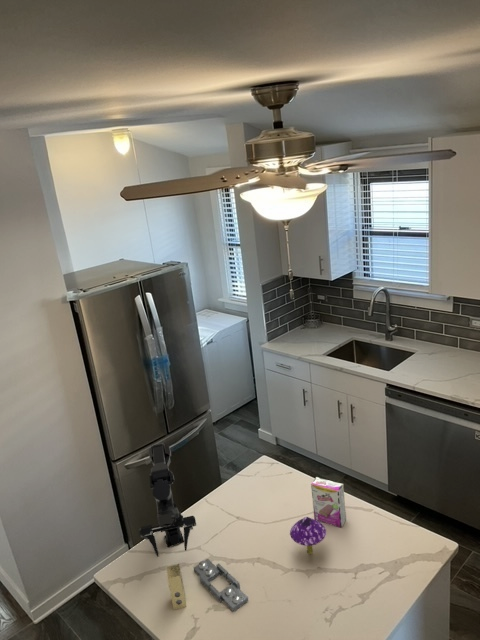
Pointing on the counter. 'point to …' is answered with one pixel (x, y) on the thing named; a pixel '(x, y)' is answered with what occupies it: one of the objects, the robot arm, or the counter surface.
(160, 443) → the robot arm
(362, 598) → the counter surface
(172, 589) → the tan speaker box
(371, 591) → the counter surface
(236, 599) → the chain ends
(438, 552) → the counter surface
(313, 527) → the decorative mushroom
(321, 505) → the candy bar box
